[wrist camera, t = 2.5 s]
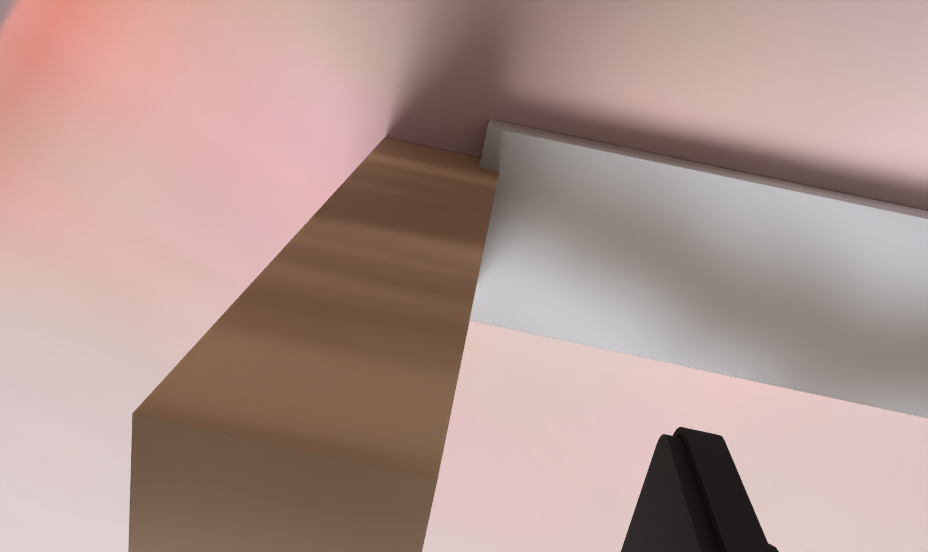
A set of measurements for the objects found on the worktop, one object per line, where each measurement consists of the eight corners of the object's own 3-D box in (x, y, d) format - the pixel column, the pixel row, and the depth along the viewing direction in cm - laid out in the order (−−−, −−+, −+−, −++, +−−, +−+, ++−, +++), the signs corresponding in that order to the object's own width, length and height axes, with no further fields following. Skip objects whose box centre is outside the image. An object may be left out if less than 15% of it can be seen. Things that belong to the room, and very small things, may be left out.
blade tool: (390, 98, 19) (135, 321, 7) (1134, 253, 19) (2179, 760, 7) (362, 281, 21) (123, 703, 9) (1037, 425, 21) (1722, 1057, 9)
